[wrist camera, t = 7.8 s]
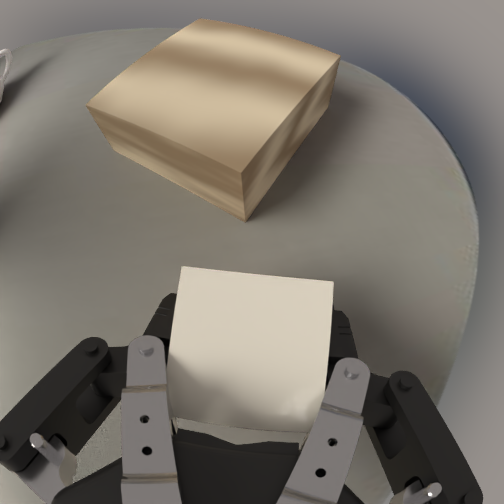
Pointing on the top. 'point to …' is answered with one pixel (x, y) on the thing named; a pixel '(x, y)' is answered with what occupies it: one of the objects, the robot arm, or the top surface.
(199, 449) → the robot arm
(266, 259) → the top surface
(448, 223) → the top surface
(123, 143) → the pine box
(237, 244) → the top surface
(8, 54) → the teapot
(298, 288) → the cube
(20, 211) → the top surface
